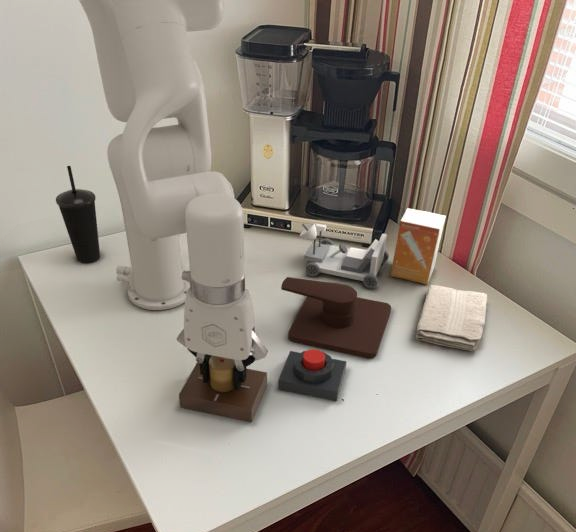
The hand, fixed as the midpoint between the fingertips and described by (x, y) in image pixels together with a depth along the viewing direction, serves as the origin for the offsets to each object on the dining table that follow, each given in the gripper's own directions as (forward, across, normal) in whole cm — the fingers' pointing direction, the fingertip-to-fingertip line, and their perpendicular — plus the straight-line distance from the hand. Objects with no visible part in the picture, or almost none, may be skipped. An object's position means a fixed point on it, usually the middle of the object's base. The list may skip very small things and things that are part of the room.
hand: (223, 379), depth 98 cm
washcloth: (+4, +35, +32) cm, 48 cm away
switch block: (+4, +13, +8) cm, 16 cm away
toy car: (+4, +11, +45) cm, 46 cm away
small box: (+4, +26, +47) cm, 54 cm away
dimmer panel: (+4, 0, 0) cm, 4 cm away
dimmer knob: (+1, 0, 0) cm, 1 cm away
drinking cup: (+4, -42, +33) cm, 54 cm away
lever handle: (+4, +13, +25) cm, 28 cm away
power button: (0, +13, +8) cm, 15 cm away
